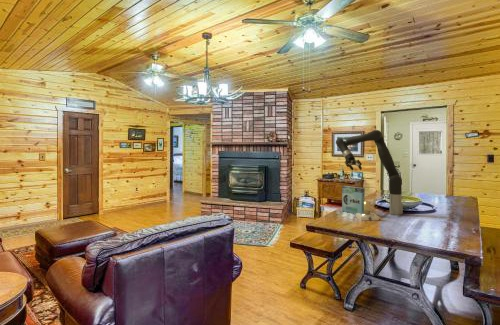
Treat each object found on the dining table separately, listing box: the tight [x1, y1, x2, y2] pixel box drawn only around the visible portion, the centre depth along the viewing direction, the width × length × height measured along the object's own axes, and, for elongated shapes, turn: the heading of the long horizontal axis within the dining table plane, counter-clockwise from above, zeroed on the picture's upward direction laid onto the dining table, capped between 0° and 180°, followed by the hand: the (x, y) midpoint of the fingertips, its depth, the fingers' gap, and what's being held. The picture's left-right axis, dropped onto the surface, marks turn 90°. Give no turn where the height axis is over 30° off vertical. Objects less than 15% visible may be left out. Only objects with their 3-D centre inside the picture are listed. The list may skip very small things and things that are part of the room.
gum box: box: [341, 185, 366, 215], centre depth 256 cm, size 20×5×23 cm, turn 38°
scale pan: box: [360, 212, 376, 217], centre depth 237 cm, size 11×11×1 cm
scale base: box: [355, 212, 380, 222], centre depth 237 cm, size 14×12×3 cm
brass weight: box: [364, 200, 371, 215], centre depth 236 cm, size 5×5×10 cm
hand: (357, 169), depth 251 cm, fingers open, 8 cm apart
